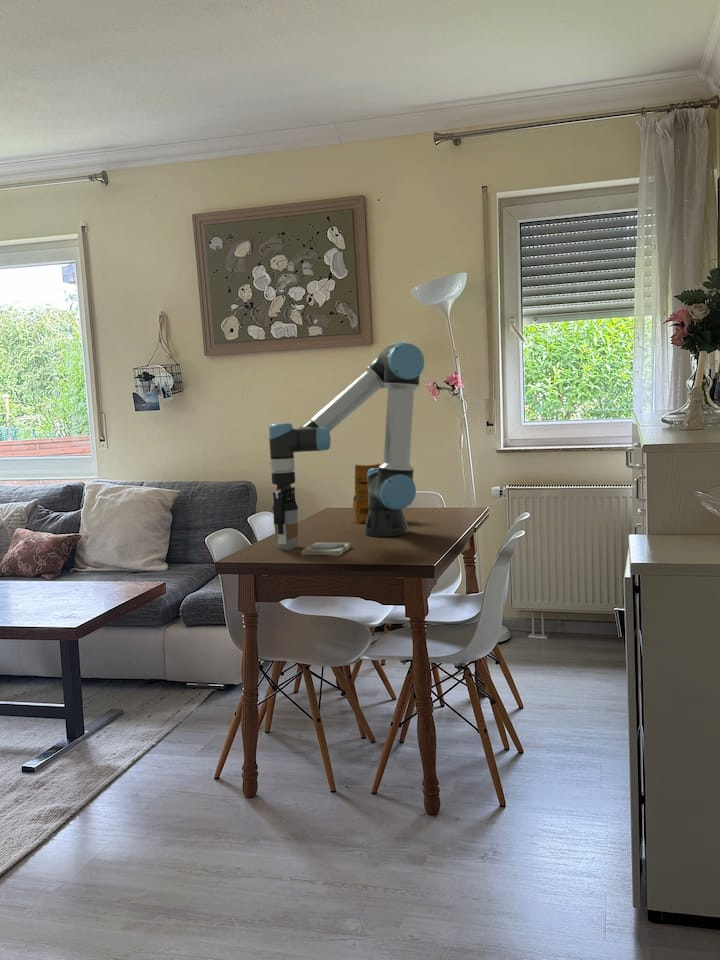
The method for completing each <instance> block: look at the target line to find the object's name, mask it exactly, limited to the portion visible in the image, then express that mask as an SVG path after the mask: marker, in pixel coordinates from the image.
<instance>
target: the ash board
mask: <svg viewBox="0 0 720 960" xmlns="http://www.w3.org/2000/svg"><path fill="white" fill-rule="evenodd" d="M352 546H353V545H352V542H321V541H320V542H314V543H312V544H310V545H309V546H307V547H306V548H304V549H302V550H301V556H302V555H330V556H329V557H339V555H340V556H341V555H343V554H344V553H345V551H346V550H347V551H348V549H349V548H350V549H351V547H352ZM350 549H349V550H350ZM347 551H346V552H347ZM343 552H344V553H343ZM342 553H343V554H342ZM331 555H332V556H331Z"/></svg>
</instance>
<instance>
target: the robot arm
mask: <svg viewBox="0 0 720 960" xmlns="http://www.w3.org/2000/svg"><path fill="white" fill-rule="evenodd" d="M424 368H425V357H424V354H423V352H422V351H421V349H420V348H419V347H418V346H417V345H414V344H412V343H409V342H398V343H396V344H392V345H389V346H386V347H385V348H384V349H383V350H382V351H381V352H380V353H379V354H378V356H376V357H375V359H374V360H372V361H371V362H370V363H369V364H368V365H367V366H366V367H365V372H363V373H362V374H361V375H360V376H359V377H358V378H356V379H355V380H354V381H353V382H351V384H350V385H348V386H347V387H346V388H345V389H343V391H341V392H340V393H339V394H337V395H336V396H335V398H333V399H332V400H331V401H329V402H328V403H327V404H326V405H325V406H324V407H323V408H321V410H319V411H318V412H317V413H316V414H315V415H313V416H312V417H311V418H310V419H309V420H308V421H307V422H305V423H304V424H303V425H301V426H299V427H297V428H294V427H293V424H292V423H290V422H282V423H281V422H280V423H278V422H277V423H271V424H270V426H269V428H268V435H269V436H268V440H269V441H268V442H269V454H270V456H269V457H270V461H269V465H270V470H271V471H272V473H271V484H272V485H276V491H273V493H272V496H273V503H274V515H273V525H274V524H277V534H278V544H287V537H286V524H284V521H285V511H284V508H283V509H282V507H285V504H287V502H291V501H296V494H295V493H296V492H295V491H296V488H295V487H294V486H292V485H293V484H295V482H296V473H295V471H294V470H295V469H296V467H295V453H301V452H321V451H329V449H330V447H331V442H332V441H331V440H332V439H331V431H333V430H334V429H335V428H336V427H337V426H338V425H339V424H341V422H343V421H345V419H346V418H348V417H349V416H350V415H351V414H352V413H353V412H354V411H356V410H357V409H358V408H359V407H360V406H362V405H363V403H365V402H366V401H367V400H369V398H371V397H372V396H373V395H374V394H376V393H377V392H378V391H379V390H380V389H381V390H382V389H384V390H385V389H387V397H386V398H387V399H386V400H387V401H386V413H385V415H386V416H385V430H384V444H383V446H384V447H383V448H384V449H383V462H382V463H380V464H381V465H380V466H379V468H372V469H369V470H368V472H367V482H368V504H369V513H368V517H367V521H366V523H364V525H365V526H364V535H366V536H368V537H376V538H377V537H398V536H403V535H406V534H408V533H409V525H408V523H407V520H406V518H405V515H404V512H403V510H404V509H405V508H408V507H409V506H410V505H412V503H413V501H414V500H415V497H416V494H417V487H416V484H415V482H414V471H415V470H414V468H413V466H412V465H411V464H410V461H411V460H410V459H411V445H412V430H413V429H412V427H413V413H414V412H413V411H414V399H415V398H414V396H415V390H416V389H418V388H419V386H420V377H421V374H422V372H423V370H424ZM282 504H284V505H283V506H282Z"/></svg>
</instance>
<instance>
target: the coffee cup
mask: <svg viewBox="0 0 720 960" xmlns="http://www.w3.org/2000/svg"><path fill="white" fill-rule="evenodd" d="M283 505H284V504H282V506H283ZM271 508H272V509H271V510H272V513H273V514H272V516H274V502H273V506H272V507H271ZM283 508H284V511H285V521H284V524H286V537H287V544H278V534H277V524H274V523H273V525H274V532H275V540H276V546H277V548H278V550H279V551H291V550H295V549H297V547H298V533H299V532H298V529H299V528H298V527H299V525H298V524H299V523H298V510H299V506H298V504H297V501H296V500H295V501H291V502H287V504H285V507H282V509H283ZM290 549H291V550H290Z"/></svg>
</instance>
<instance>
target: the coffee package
mask: <svg viewBox="0 0 720 960" xmlns="http://www.w3.org/2000/svg"><path fill="white" fill-rule="evenodd" d="M381 464H382V463H376V464H375V463H374V464H370V465H366V464H365V465H364V464H355V465H354V496H353V500H352V509H353V510H352V511H353V517H354V521H353V522H354V523H355V524H366V521H367V517H368V513H369V504H368V482H367V472H368V470H369V469H372V468H379V466H380V465H381Z"/></svg>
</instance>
